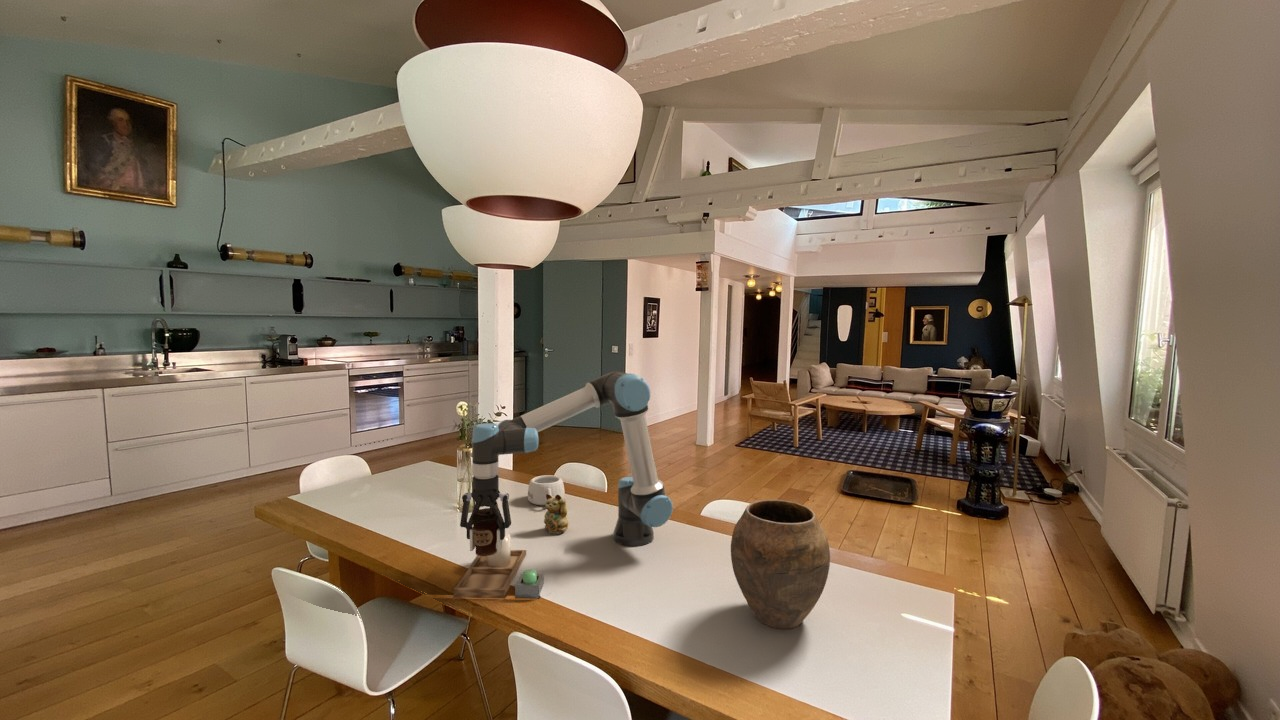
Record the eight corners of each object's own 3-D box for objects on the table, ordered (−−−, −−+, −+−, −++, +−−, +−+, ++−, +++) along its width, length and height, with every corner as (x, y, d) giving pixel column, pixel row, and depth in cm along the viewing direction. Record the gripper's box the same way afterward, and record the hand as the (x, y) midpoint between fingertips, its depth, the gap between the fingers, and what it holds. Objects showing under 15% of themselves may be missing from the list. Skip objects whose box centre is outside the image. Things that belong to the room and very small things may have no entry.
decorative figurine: (540, 533, 199) (540, 495, 198) (549, 525, 207) (549, 488, 206) (564, 536, 196) (564, 497, 195) (572, 527, 204) (572, 490, 203)
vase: (710, 616, 143) (712, 509, 141) (762, 583, 161) (764, 489, 159) (797, 660, 124) (800, 538, 122) (844, 617, 143) (848, 511, 141)
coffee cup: (492, 560, 153) (491, 517, 152) (466, 557, 154) (466, 515, 153) (505, 548, 161) (505, 507, 160) (480, 545, 163) (480, 505, 162)
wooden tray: (526, 557, 178) (526, 550, 178) (505, 598, 151) (504, 590, 151) (482, 556, 178) (482, 549, 178) (453, 597, 151) (453, 589, 151)
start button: (537, 585, 157) (537, 569, 156) (535, 592, 153) (535, 576, 152) (524, 585, 157) (524, 569, 156) (521, 592, 153) (521, 575, 152)
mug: (525, 496, 241) (525, 475, 241) (561, 493, 246) (561, 472, 246) (530, 512, 221) (530, 489, 220) (569, 508, 226) (569, 486, 225)
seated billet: (513, 558, 175) (512, 532, 174) (507, 568, 167) (507, 541, 167) (490, 558, 175) (490, 532, 174) (483, 568, 167) (483, 541, 167)
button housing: (543, 586, 158) (543, 574, 158) (539, 598, 151) (539, 585, 151) (521, 586, 158) (520, 573, 158) (515, 598, 151) (515, 585, 151)
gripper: (522, 472, 160) (522, 544, 161) (456, 471, 160) (457, 543, 161) (516, 479, 152) (516, 555, 154) (447, 478, 152) (448, 554, 154)
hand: (486, 549), depth 158 cm, fingers closed on coffee cup, 7 cm apart
